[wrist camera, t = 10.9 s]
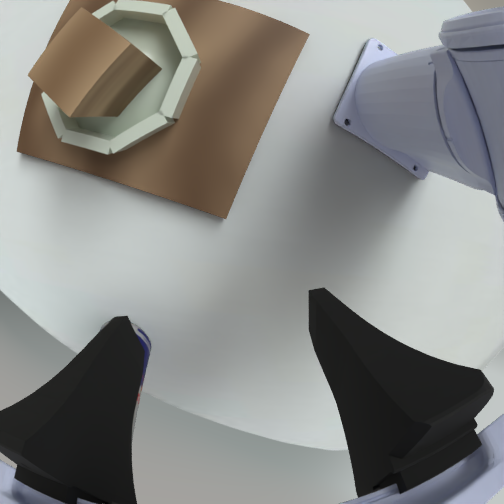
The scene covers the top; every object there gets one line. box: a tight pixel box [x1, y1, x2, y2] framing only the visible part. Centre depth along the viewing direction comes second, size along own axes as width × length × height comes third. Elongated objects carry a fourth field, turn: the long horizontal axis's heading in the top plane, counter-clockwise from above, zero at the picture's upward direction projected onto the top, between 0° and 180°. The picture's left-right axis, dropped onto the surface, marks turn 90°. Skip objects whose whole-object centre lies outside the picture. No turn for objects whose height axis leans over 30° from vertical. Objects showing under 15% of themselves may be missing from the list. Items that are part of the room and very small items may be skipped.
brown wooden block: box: [28, 7, 162, 117], centre depth 10 cm, size 4×4×6 cm
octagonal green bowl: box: [41, 0, 201, 155], centre depth 12 cm, size 10×10×2 cm
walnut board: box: [17, 0, 310, 219], centre depth 14 cm, size 18×14×1 cm
